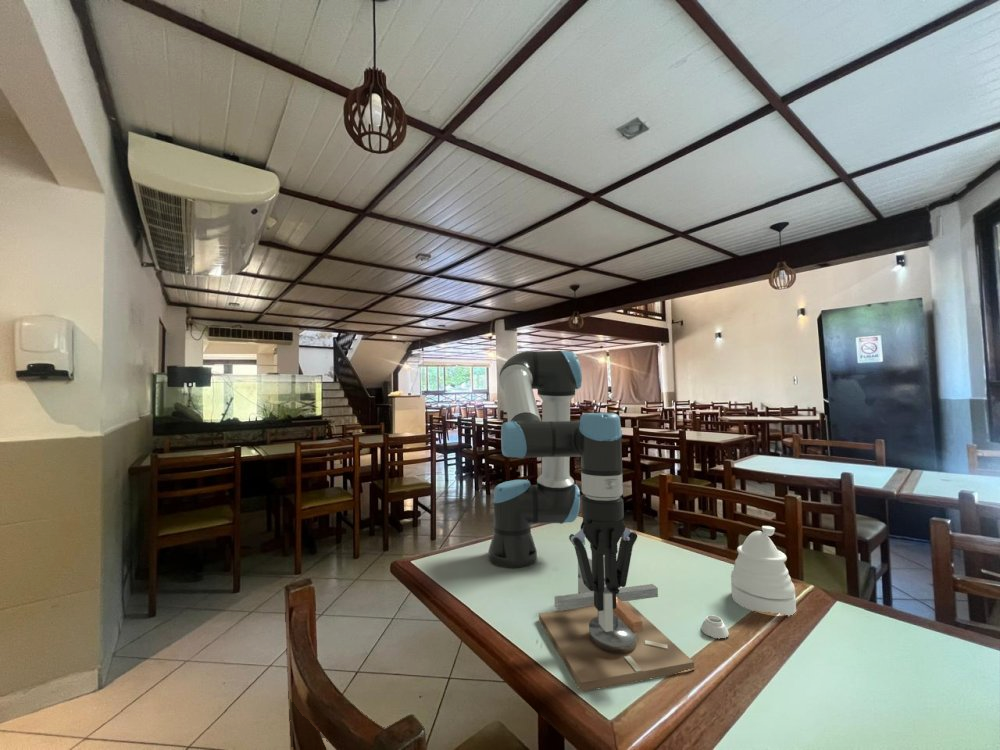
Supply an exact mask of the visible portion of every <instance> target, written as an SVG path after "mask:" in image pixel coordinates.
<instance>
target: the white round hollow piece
mask: <svg viewBox="0 0 1000 750" xmlns="http://www.w3.org/2000/svg"><path fill="white" fill-rule="evenodd" d="M700 627H701V631H702V632H703V633H704V634H705V635H706V636H708V637H710V636H711V638H714V639H717V638H718V639H719V640H721V639H720V638H725V639H727V638H726V637H729V636H730V634H729V633H730V632H729V630H728V628H727V626H726V625H725V623H724V622H723V619H722V618H721V617H719V616H717V615H714V614H708V615H707V616H705V618H704V620H703V622H702V623H701V625H700ZM728 635H729V636H728ZM718 639H717V640H718Z"/></svg>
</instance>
